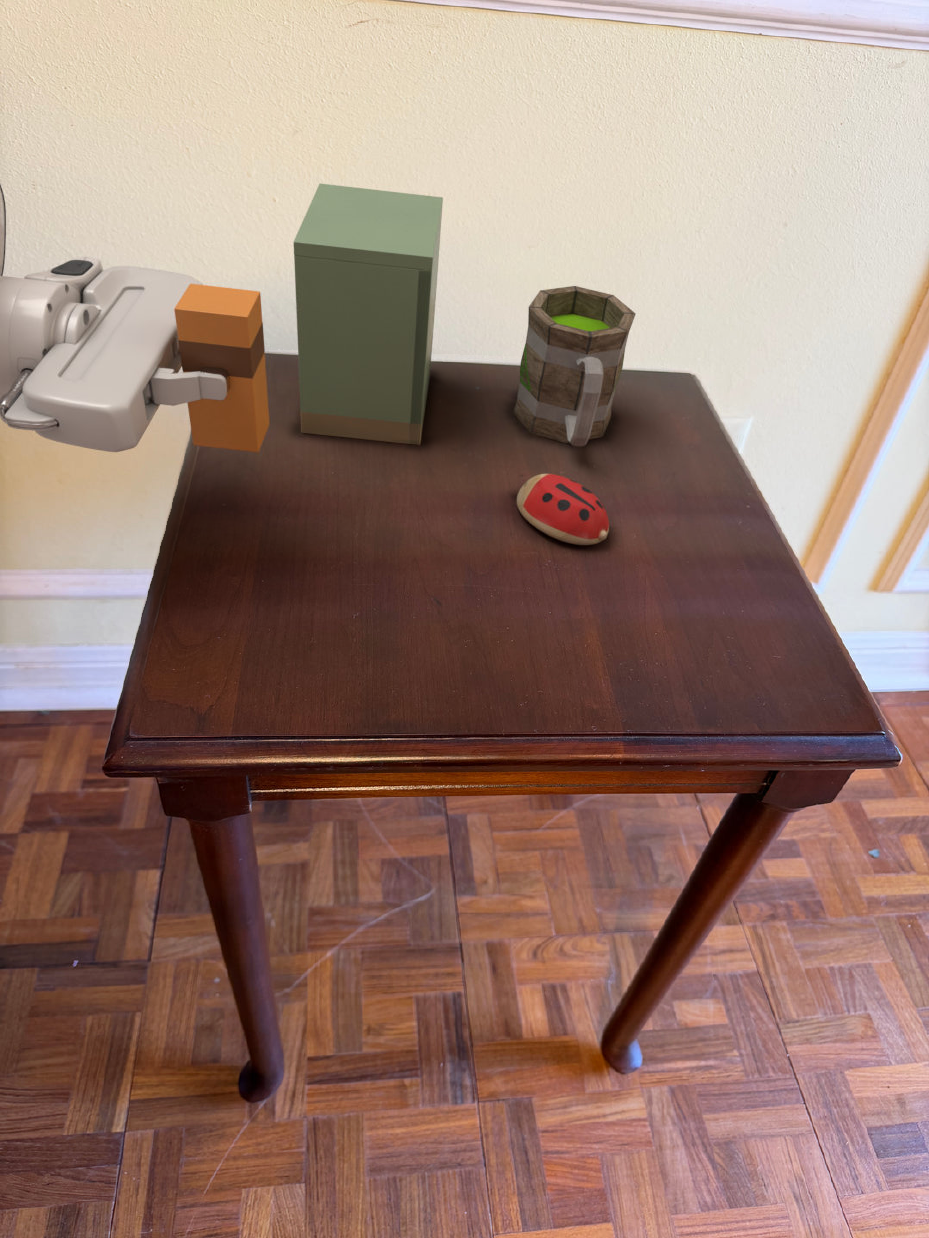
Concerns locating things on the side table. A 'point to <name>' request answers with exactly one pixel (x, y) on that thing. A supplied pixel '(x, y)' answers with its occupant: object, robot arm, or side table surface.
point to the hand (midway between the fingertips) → (236, 366)
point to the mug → (571, 363)
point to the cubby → (366, 311)
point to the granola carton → (225, 364)
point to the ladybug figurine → (563, 509)
